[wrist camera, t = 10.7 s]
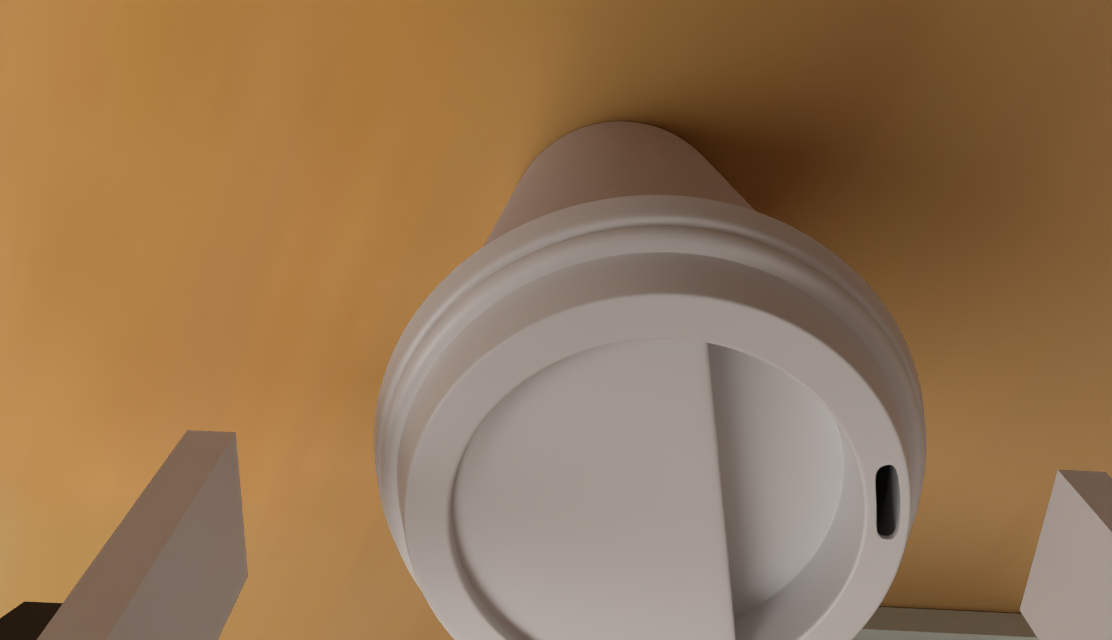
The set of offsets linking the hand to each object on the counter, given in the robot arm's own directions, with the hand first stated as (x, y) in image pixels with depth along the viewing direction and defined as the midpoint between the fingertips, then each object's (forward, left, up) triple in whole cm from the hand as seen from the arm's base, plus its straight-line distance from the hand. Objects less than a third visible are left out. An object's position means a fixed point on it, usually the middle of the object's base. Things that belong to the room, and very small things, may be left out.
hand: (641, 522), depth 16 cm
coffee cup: (0, 0, -15) cm, 15 cm away
